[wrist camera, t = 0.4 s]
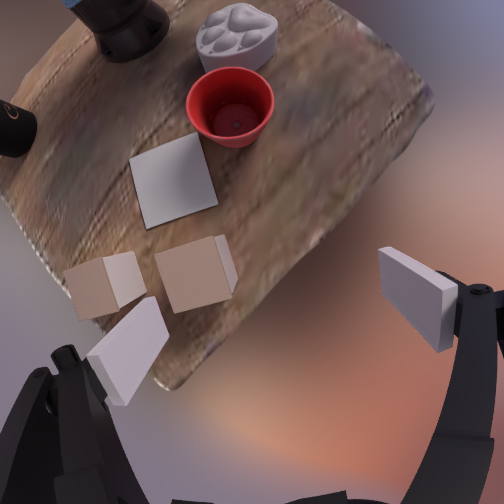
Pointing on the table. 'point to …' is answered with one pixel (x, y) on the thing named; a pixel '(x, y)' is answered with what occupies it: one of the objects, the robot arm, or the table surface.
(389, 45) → the table surface
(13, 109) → the coffee jar
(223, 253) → the empty canister
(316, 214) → the table surface
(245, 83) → the flower pot
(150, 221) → the felt mat
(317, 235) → the table surface
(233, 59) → the lumpy-topped squat cylinder
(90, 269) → the cover canister
